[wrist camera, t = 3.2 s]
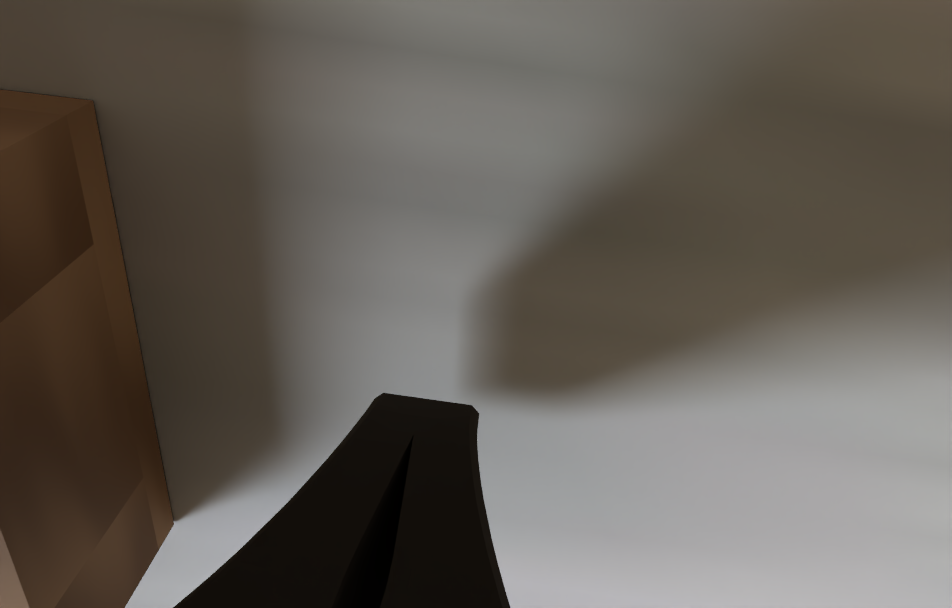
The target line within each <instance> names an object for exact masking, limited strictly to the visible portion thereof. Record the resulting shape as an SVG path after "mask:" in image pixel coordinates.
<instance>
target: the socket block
mask: <svg viewBox="0 0 952 608" xmlns="http://www.w3.org/2000/svg"><path fill="white" fill-rule="evenodd" d="M173 525H174V522H173V517H172V512H171V507H170V501H169V496H168V491H167V486H166V480H165V475H164V470H163V465H162V460H161V454H160V449H159V444H158V439H157V433H156V428H155V423H154V418H153V412H152V407H151V402H150V397H149V392H148V386H147V381H146V376H145V371H144V365H143V360H142V355H141V350H140V344H139V339H138V334H137V329H136V323H135V318H134V313H133V308H132V303H131V297H130V292H129V287H128V282H127V276H126V271H125V266H124V261H123V255H122V250H121V245H120V240H119V235H118V229H117V224H116V219H115V214H114V208H113V203H112V198H111V193H110V187H109V182H108V177H107V172H106V167H105V161H104V156H103V151H102V146H101V140H100V135H99V130H98V125H97V119H96V114H95V109H94V104H93V101H92V100H83V99H75V98H67V97H58V96H50V95H41V94H33V93H25V92H16V91H8V90H0V608H125V606H126V604H127V603H128V601H129V599H130V598H131V596H132V594H133V592H134V591H135V589H136V587H137V586H138V584H139V582H140V581H141V579H142V577H143V576H144V574H145V572H146V571H147V569H148V567H149V565H150V564H151V562H152V560H153V559H154V557H155V555H156V554H157V552H158V550H159V549H160V547H161V545H162V543H163V542H164V540H165V538H166V537H167V535H168V533H169V532H170V530H171V528H172V527H173Z"/></svg>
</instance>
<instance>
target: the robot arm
mask: <svg viewBox="0 0 952 608" xmlns="http://www.w3.org/2000/svg"><path fill="white" fill-rule="evenodd" d="M478 419H479V413H478V412H477V411H476V409H475V408H474V407H473V406H472V405H466V404H458V403H451V402H444V401H437V400H430V399H423V398H416V397H408V396H401V395H394V394H387V393H383V394H381V395H379V396H378V397H376V398H375V399H374V401H373V402H372V403H371V405H370V406H369V408H368V409H367V410H366V412H365V413H364V414H363V416H362V417H361V418H360V420H359V421H358V422H357V423H356V425H355V426H354V427H353V429H352V430H351V431H350V432H349V434H348V435H347V436H346V437H345V439H344V440H343V441H342V442H341V443H340V444H339V446H338V447H337V448H336V449H335V450H334V452H333V453H332V454H331V455H330V456H329V458H328V459H327V460H326V461H325V462H324V463H323V464H322V465H321V467H320V468H319V469H318V470H317V471H316V472H315V473H314V474H313V475H312V476H311V478H310V479H309V480H308V481H307V482H306V483H305V484H304V485H303V486H302V488H301V489H300V490H299V491H298V492H297V493H296V494H295V495H294V496H293V497H292V498H291V499H290V501H289V502H288V503H287V504H286V505H285V506H284V507H283V508H282V509H281V510H280V511H279V512H278V513H277V514H276V515H275V516H274V517H273V518H272V519H271V520H270V521H269V522H268V523H267V524H265V525H264V526H263V527H262V528H261V529H260V530H259V531H258V532H257V533H256V534H255V535H254V536H253V537H252V538H251V539H250V540H249V541H248V542H247V543H246V544H245V545H244V546H243V547H242V548H241V549H240V550H239V551H238V552H237V553H236V554H235V555H233V556H232V557H231V558H230V559H229V560H228V561H227V562H226V563H225V564H224V565H222V566H221V567H220V568H219V569H218V570H217V571H216V572H215V573H213V574H212V575H211V576H210V577H209V578H208V579H207V580H206V581H204V582H203V583H202V584H201V585H200V586H198V587H197V588H196V589H195V590H194V591H193V592H191V593H190V594H189V595H188V596H187V597H185V598H184V599H183V600H182V601H181V602H179V603H178V604H177V605H176V606H175V607H173V608H510V605H509V602H508V599H507V595H506V592H505V588H504V585H503V581H502V577H501V574H500V570H499V567H498V563H497V559H496V555H495V551H494V547H493V543H492V539H491V534H490V529H489V524H488V519H487V514H486V509H485V504H484V499H483V493H482V487H481V480H480V472H479V463H478V451H477V428H478Z"/></svg>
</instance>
